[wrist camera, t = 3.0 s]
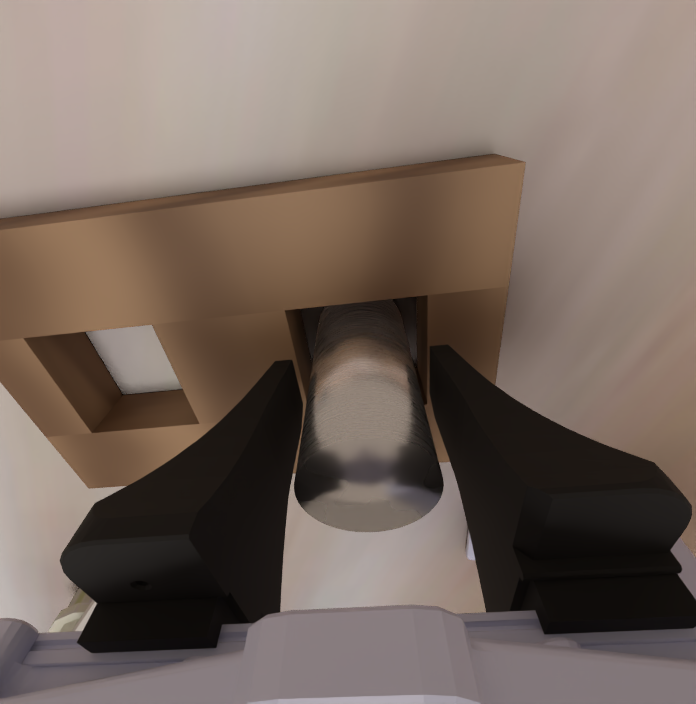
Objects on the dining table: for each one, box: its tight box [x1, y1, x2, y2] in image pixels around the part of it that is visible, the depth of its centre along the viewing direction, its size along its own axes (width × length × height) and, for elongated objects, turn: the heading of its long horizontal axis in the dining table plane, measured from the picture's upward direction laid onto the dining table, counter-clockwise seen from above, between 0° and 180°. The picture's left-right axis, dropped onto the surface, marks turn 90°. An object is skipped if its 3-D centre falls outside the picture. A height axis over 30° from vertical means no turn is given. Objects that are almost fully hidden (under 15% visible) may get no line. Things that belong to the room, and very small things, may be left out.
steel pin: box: [294, 299, 444, 532], centre depth 12 cm, size 4×4×8 cm
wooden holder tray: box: [0, 154, 526, 488], centre depth 15 cm, size 19×12×2 cm, turn 97°
